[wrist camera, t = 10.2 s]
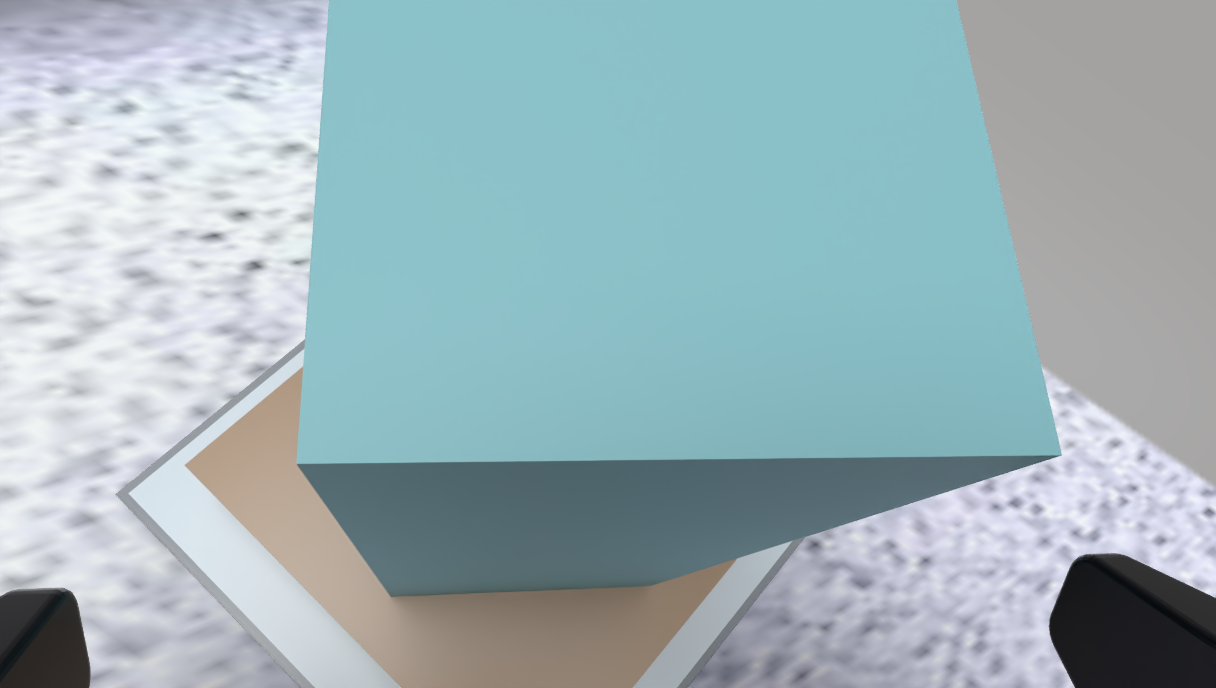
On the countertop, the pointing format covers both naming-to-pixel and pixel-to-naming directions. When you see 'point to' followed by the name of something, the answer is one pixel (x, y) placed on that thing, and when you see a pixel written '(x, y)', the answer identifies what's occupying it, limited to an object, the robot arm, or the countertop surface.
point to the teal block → (651, 284)
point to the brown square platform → (404, 625)
